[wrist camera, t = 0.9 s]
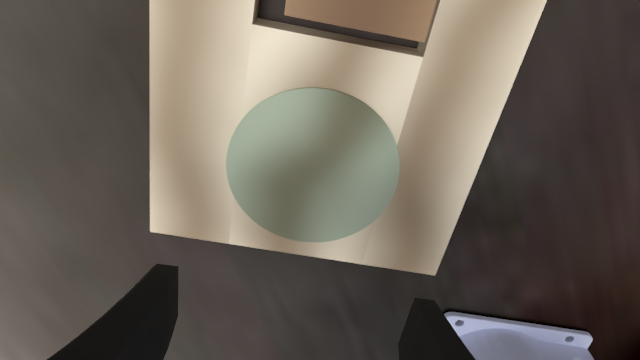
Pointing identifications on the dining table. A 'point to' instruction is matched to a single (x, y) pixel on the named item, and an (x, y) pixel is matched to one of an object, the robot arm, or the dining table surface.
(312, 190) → the board
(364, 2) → the block
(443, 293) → the dining table surface
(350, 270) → the dining table surface
